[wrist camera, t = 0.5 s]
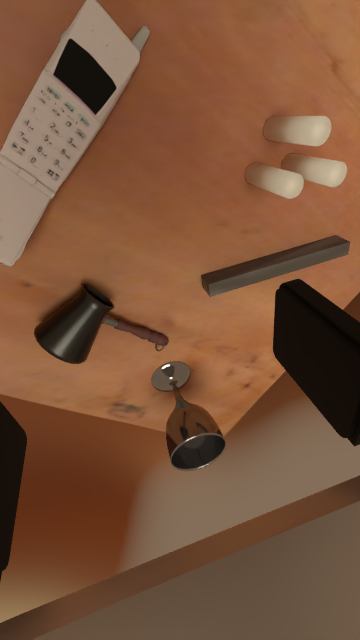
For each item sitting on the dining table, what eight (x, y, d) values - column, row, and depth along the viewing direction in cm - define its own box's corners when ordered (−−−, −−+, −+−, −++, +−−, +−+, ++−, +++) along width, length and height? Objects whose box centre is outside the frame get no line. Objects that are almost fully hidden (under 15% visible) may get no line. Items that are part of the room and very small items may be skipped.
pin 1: (244, 165, 36) (282, 176, 29) (262, 160, 36) (304, 170, 30) (245, 186, 37) (282, 201, 31) (262, 181, 38) (302, 195, 31)
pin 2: (281, 155, 37) (327, 164, 30) (299, 151, 37) (348, 159, 30) (280, 176, 38) (324, 189, 31) (297, 172, 38) (344, 184, 32)
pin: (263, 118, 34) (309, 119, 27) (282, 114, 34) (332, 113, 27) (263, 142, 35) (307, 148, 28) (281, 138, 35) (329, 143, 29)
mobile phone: (-57, 236, 27) (105, -60, 20) (-38, 217, 31) (99, -28, 24) (12, 271, 30) (170, 29, 23) (20, 249, 35) (154, 42, 28)
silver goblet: (201, 368, 53) (237, 441, 42) (174, 398, 56) (201, 474, 44) (167, 353, 49) (196, 429, 37) (140, 385, 51) (159, 466, 40)
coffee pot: (29, 320, 39) (67, 269, 38) (129, 363, 51) (160, 325, 50) (35, 353, 33) (79, 294, 32) (146, 392, 45) (181, 350, 44)
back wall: (201, 275, 43) (208, 284, 40) (335, 235, 46) (350, 241, 43) (202, 287, 44) (210, 296, 42) (334, 247, 47) (347, 254, 44)
